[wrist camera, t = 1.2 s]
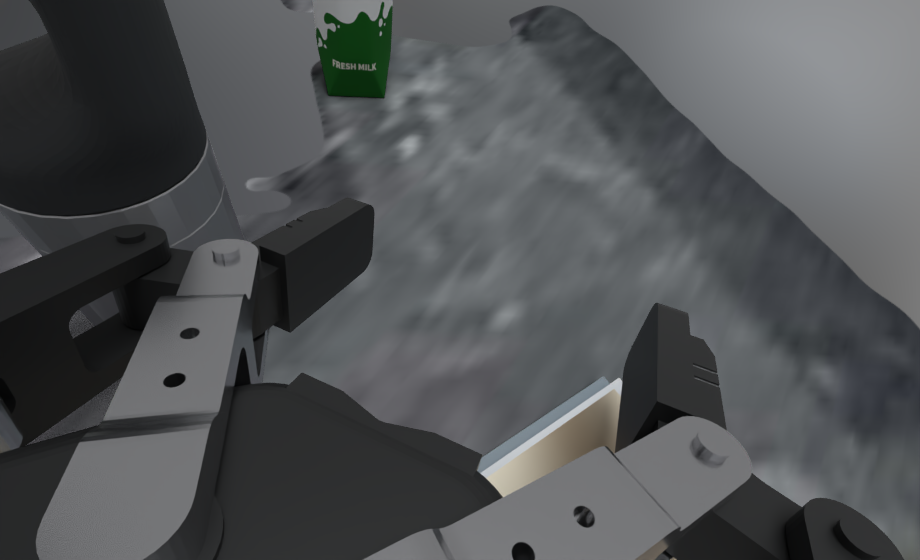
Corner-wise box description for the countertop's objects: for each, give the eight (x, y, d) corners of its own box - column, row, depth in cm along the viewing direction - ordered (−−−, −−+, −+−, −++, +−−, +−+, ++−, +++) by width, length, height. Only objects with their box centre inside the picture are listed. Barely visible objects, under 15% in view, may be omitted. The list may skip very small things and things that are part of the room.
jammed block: (459, 642, 25) (618, 712, 9) (415, 554, 27) (479, 483, 11) (526, 583, 27) (751, 554, 11) (480, 506, 29) (614, 388, 13)
